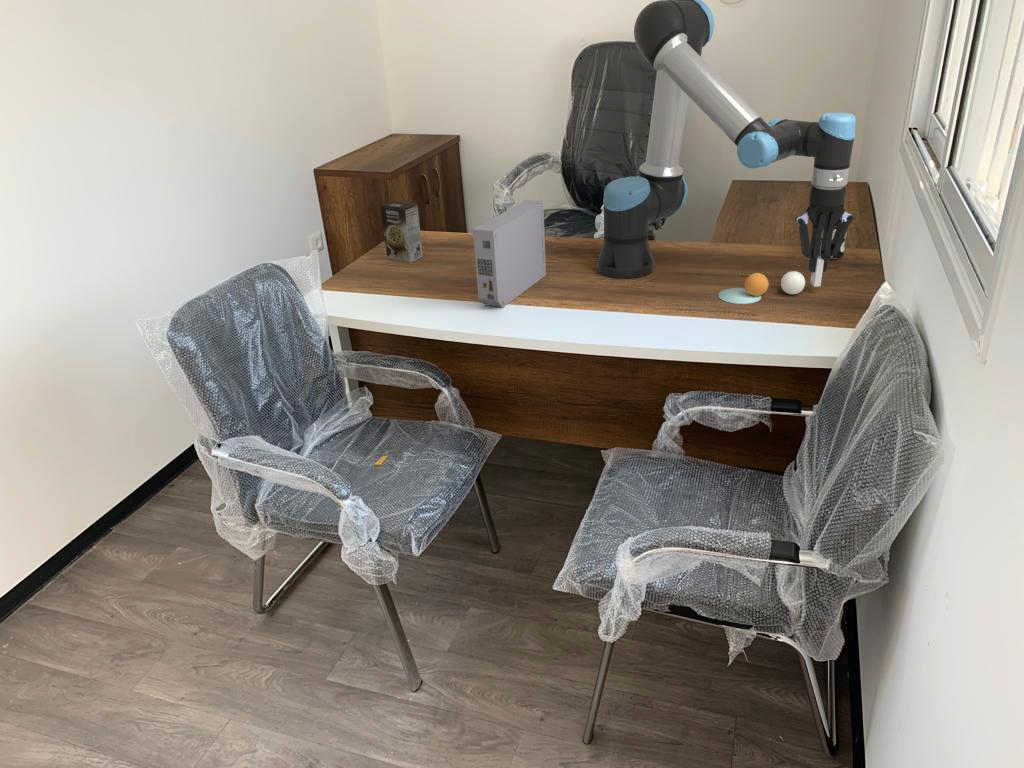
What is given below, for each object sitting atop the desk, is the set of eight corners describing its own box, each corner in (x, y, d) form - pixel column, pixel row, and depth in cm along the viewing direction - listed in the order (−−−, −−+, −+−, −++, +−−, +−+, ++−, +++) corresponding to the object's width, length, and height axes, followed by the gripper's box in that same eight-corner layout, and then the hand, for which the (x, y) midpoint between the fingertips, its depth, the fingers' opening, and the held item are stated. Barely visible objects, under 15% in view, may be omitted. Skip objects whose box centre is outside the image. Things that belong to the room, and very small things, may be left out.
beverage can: (839, 252, 207) (845, 209, 201) (846, 260, 201) (853, 215, 195) (814, 253, 207) (819, 209, 202) (820, 261, 202) (826, 216, 196)
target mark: (724, 305, 179) (724, 304, 179) (713, 290, 188) (713, 289, 188) (766, 302, 179) (766, 301, 179) (754, 287, 188) (754, 286, 187)
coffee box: (386, 259, 224) (378, 205, 216) (400, 253, 229) (393, 199, 221) (410, 263, 219) (403, 208, 212) (424, 256, 224) (417, 202, 217)
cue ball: (813, 284, 179) (796, 302, 181) (804, 276, 184) (788, 293, 186) (798, 271, 177) (781, 289, 179) (789, 263, 182) (772, 281, 184)
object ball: (764, 302, 181) (744, 295, 180) (757, 294, 186) (737, 286, 185) (775, 282, 179) (755, 274, 178) (768, 274, 184) (748, 266, 183)
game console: (548, 274, 205) (545, 201, 195) (499, 311, 184) (494, 231, 174) (529, 272, 207) (525, 199, 198) (479, 308, 186) (472, 229, 177)
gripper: (805, 191, 168) (793, 291, 179) (864, 188, 168) (848, 288, 179) (794, 183, 174) (782, 280, 185) (851, 180, 174) (836, 277, 185)
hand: (815, 284), depth 182 cm, fingers closed
